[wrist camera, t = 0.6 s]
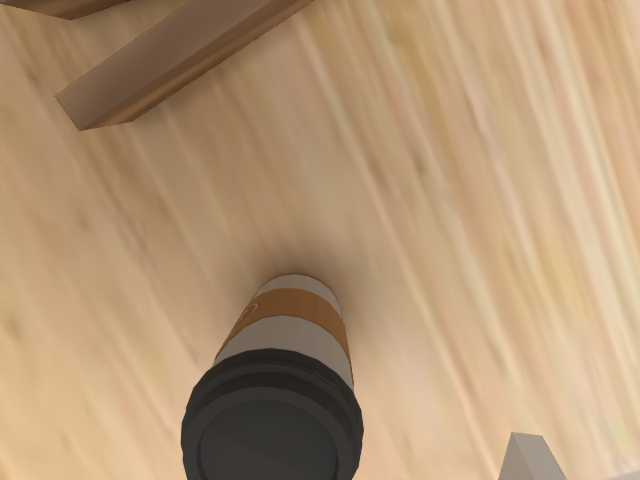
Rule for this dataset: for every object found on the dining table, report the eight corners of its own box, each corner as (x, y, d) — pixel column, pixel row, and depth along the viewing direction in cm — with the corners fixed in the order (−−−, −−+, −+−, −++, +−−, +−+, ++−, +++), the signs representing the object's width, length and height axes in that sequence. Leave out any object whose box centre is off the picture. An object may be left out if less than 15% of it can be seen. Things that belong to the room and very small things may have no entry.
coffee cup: (271, 235, 35) (223, 339, 21) (378, 294, 36) (404, 433, 22) (216, 333, 37) (138, 489, 23) (318, 386, 38) (305, 568, 24)
